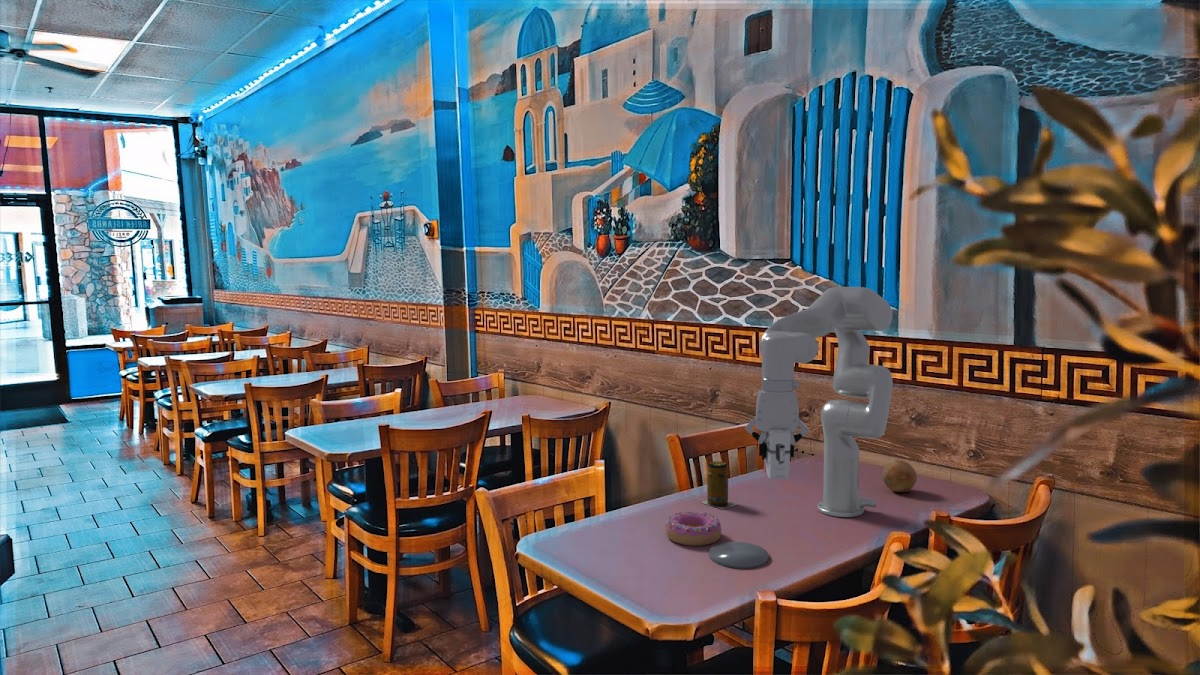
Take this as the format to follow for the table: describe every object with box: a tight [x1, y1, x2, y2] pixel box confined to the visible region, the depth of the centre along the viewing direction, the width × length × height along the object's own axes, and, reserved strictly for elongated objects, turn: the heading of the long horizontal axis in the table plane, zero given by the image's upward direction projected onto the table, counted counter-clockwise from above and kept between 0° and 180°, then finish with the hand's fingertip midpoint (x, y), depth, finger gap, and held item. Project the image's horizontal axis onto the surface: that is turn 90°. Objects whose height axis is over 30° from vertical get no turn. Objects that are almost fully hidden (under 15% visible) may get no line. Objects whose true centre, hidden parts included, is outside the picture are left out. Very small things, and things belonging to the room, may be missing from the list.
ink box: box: [763, 430, 791, 480], centre depth 183 cm, size 9×5×12 cm, turn 179°
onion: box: [882, 459, 918, 493], centre depth 229 cm, size 10×10×10 cm
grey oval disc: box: [708, 541, 769, 569], centre depth 182 cm, size 14×14×1 cm
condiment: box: [700, 461, 739, 510], centre depth 220 cm, size 7×8×12 cm
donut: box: [665, 511, 722, 547], centre depth 195 cm, size 14×14×5 cm
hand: (776, 458), depth 184 cm, fingers closed on ink box, 5 cm apart
